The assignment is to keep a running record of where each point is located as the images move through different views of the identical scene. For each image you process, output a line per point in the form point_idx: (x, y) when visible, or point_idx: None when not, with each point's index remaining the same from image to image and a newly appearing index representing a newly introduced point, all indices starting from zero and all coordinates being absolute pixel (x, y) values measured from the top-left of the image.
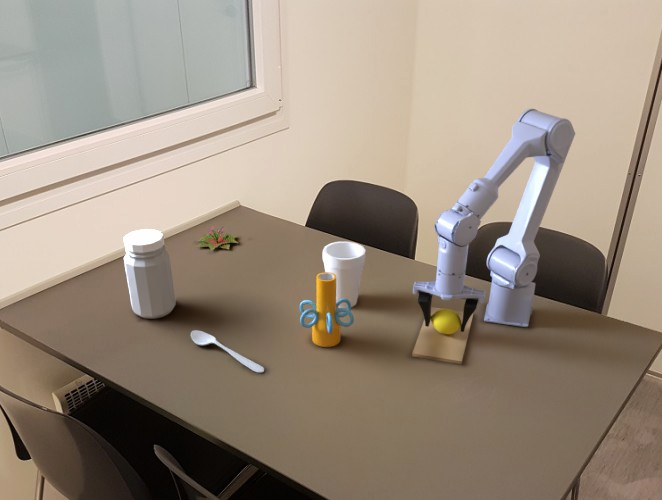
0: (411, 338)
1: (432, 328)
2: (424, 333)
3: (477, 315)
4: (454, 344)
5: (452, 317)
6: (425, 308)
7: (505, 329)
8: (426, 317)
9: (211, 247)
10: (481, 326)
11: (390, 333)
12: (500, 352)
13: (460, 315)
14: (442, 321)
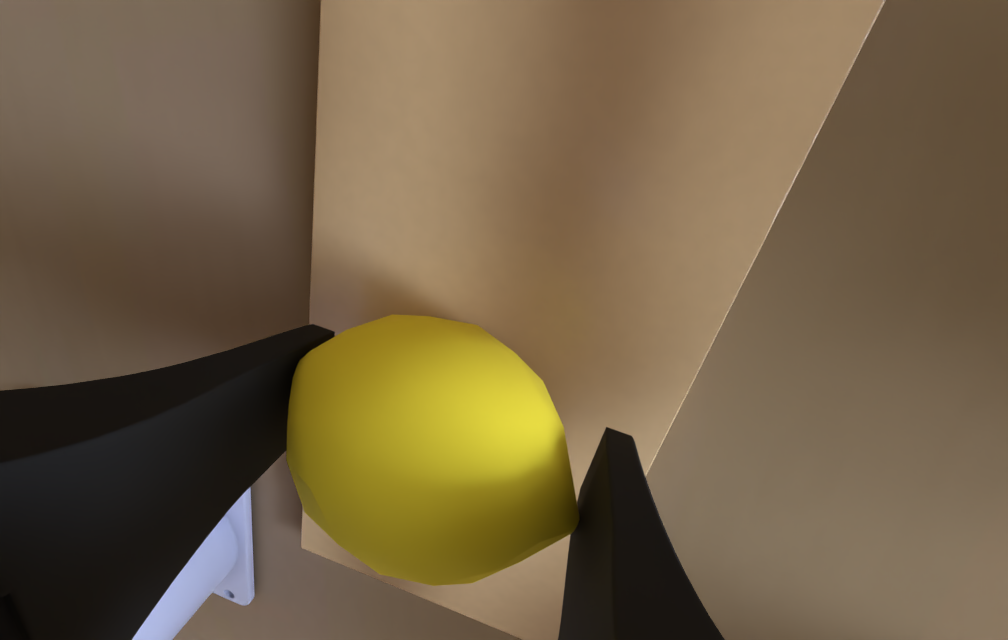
0: (770, 344)
1: (565, 435)
2: (646, 376)
3: (292, 531)
4: (401, 198)
5: (332, 430)
6: (660, 619)
7: None
8: (632, 501)
9: None
10: None
11: (963, 434)
12: (102, 131)
13: None
14: (455, 402)
